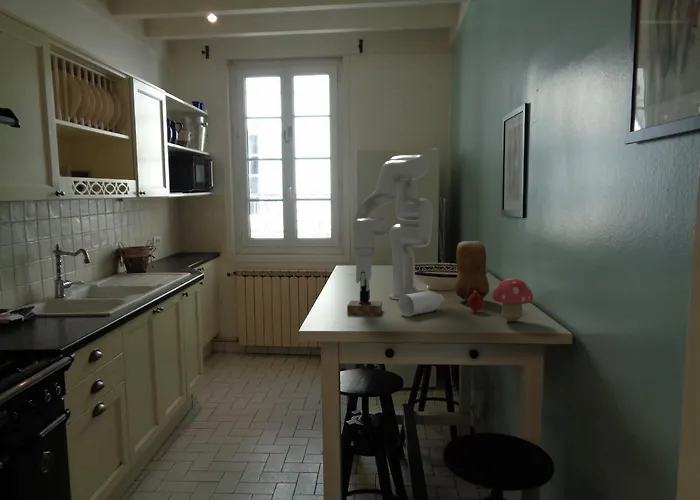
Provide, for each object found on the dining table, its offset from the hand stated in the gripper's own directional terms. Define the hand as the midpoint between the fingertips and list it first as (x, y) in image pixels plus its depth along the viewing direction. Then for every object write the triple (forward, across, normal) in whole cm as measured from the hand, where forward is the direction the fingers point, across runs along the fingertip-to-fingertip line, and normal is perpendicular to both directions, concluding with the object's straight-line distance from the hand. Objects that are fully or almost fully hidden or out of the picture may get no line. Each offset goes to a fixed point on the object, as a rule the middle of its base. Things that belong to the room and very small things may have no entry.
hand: (364, 300), depth 195 cm
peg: (+3, 0, 0) cm, 3 cm away
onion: (+5, -5, +41) cm, 42 cm away
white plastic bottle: (+5, -2, +21) cm, 21 cm away
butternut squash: (+5, -24, +41) cm, 48 cm away
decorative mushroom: (+5, +9, +52) cm, 53 cm away
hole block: (+5, 0, 0) cm, 5 cm away
